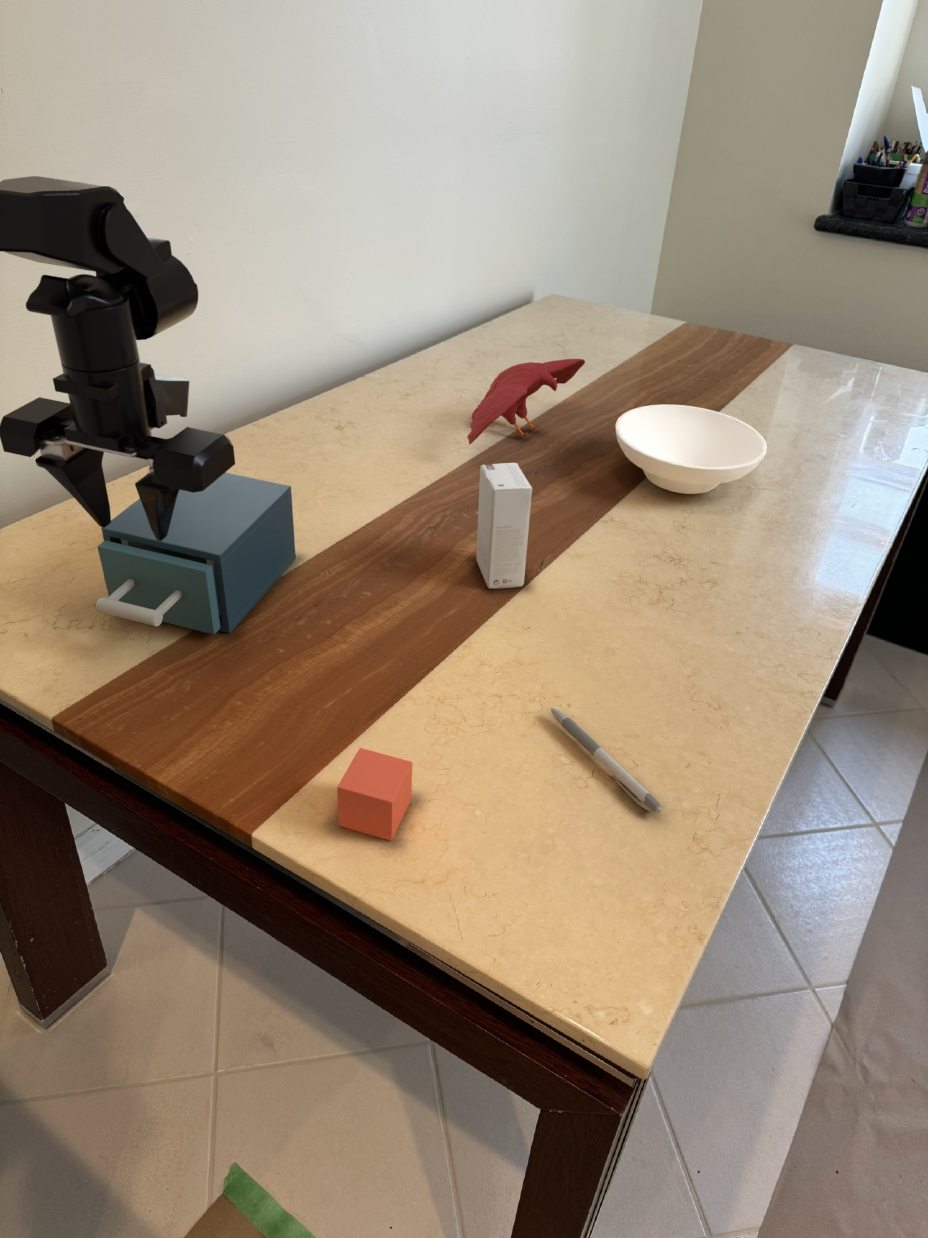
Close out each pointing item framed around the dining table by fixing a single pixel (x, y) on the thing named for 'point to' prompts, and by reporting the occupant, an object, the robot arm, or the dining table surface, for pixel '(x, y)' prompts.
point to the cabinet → (225, 537)
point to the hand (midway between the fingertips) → (133, 531)
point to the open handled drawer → (159, 586)
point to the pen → (609, 763)
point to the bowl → (688, 446)
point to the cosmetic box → (503, 524)
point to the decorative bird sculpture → (519, 392)
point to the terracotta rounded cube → (374, 793)
